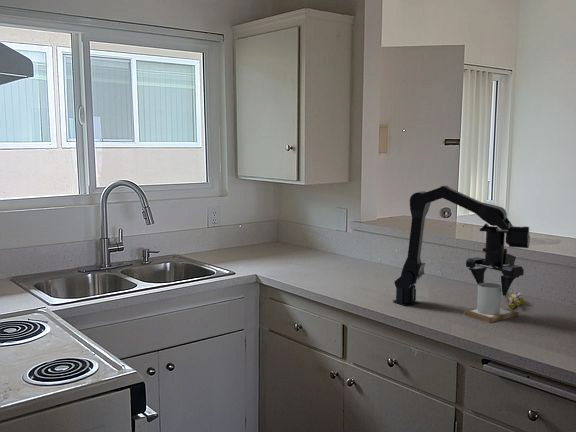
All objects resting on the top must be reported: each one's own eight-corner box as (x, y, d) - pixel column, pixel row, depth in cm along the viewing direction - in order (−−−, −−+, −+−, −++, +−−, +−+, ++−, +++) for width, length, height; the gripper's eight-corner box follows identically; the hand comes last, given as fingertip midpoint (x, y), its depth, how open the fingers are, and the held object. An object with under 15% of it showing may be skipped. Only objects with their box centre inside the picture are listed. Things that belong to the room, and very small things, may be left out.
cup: (474, 312, 187) (475, 286, 186) (482, 305, 195) (483, 280, 194) (497, 316, 183) (498, 289, 182) (504, 309, 191) (505, 282, 190)
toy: (502, 303, 196) (502, 290, 210) (512, 316, 195) (511, 302, 209) (515, 295, 194) (515, 283, 208) (525, 308, 193) (524, 294, 207)
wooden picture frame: (489, 322, 181) (489, 318, 181) (464, 314, 189) (464, 310, 189) (517, 315, 188) (517, 311, 188) (492, 308, 197) (492, 304, 196)
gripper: (535, 247, 182) (533, 295, 184) (487, 239, 198) (485, 283, 200) (513, 251, 176) (510, 300, 178) (465, 242, 192) (463, 287, 194)
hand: (492, 292), depth 188 cm, fingers open, 9 cm apart
